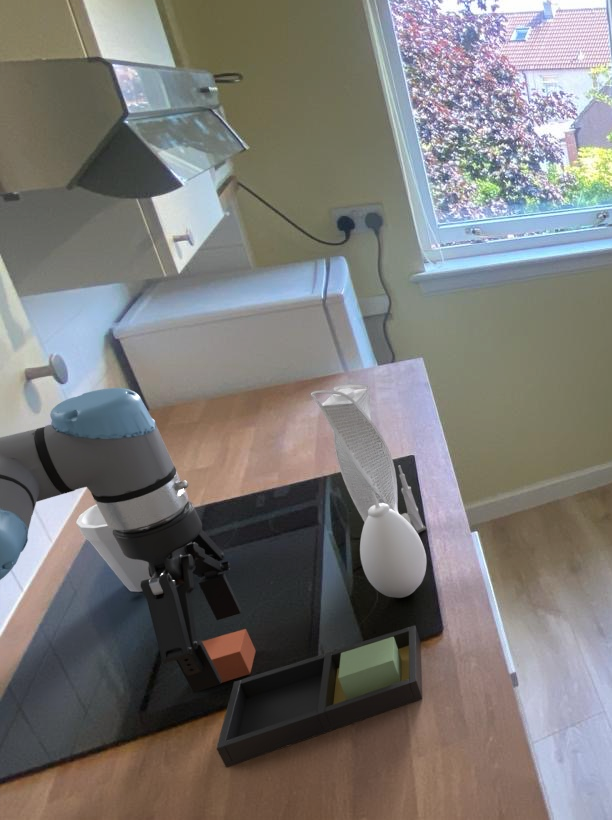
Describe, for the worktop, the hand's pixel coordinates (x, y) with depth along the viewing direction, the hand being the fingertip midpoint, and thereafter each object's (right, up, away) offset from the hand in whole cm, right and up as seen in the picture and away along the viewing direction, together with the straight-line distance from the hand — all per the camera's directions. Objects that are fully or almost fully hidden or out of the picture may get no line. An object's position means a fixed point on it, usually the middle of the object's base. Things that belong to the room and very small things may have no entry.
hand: (219, 648), depth 95 cm
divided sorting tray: (+17, -5, -3) cm, 18 cm away
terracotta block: (0, -3, +1) cm, 4 cm away
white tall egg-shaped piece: (+16, +3, +14) cm, 22 cm away
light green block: (+21, -3, -2) cm, 22 cm away
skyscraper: (+7, +9, +28) cm, 30 cm away
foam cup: (-25, +4, +19) cm, 32 cm away
